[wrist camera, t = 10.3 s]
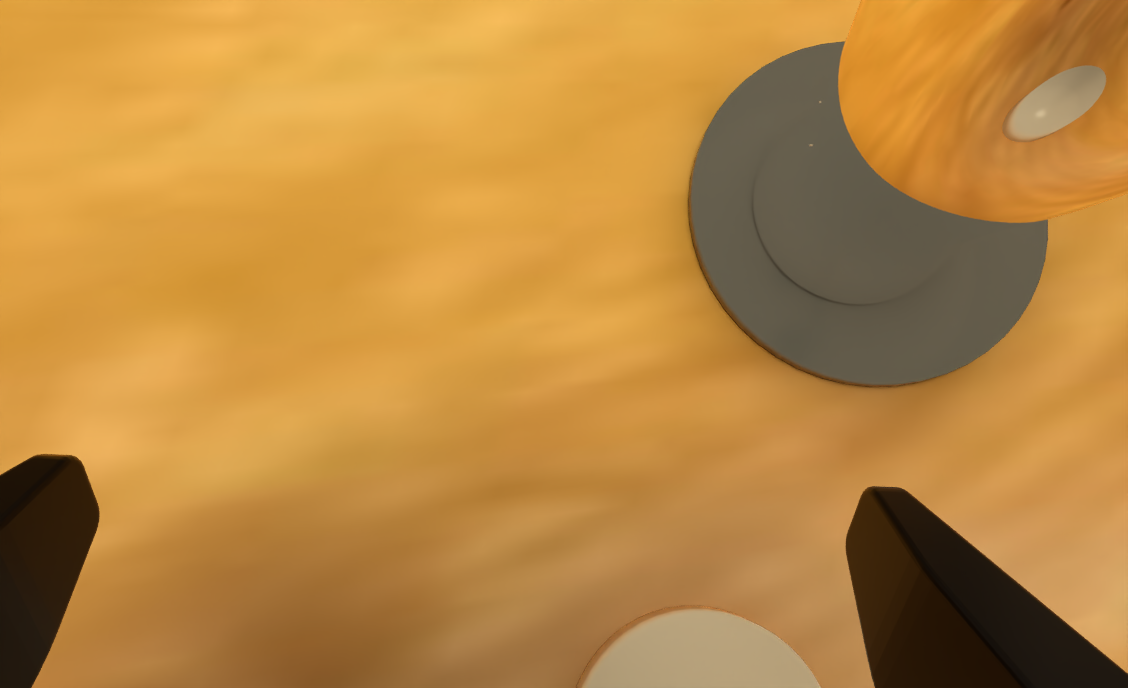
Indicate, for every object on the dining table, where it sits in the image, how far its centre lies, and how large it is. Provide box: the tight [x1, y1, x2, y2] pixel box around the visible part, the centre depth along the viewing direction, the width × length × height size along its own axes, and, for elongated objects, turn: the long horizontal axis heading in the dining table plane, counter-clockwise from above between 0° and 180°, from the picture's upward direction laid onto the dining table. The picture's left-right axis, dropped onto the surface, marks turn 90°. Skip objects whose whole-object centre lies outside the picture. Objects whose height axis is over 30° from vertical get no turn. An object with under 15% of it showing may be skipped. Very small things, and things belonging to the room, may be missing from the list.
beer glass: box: [753, 0, 1128, 305], centre depth 17 cm, size 7×7×15 cm
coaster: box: [688, 42, 1048, 387], centre depth 24 cm, size 11×11×1 cm
